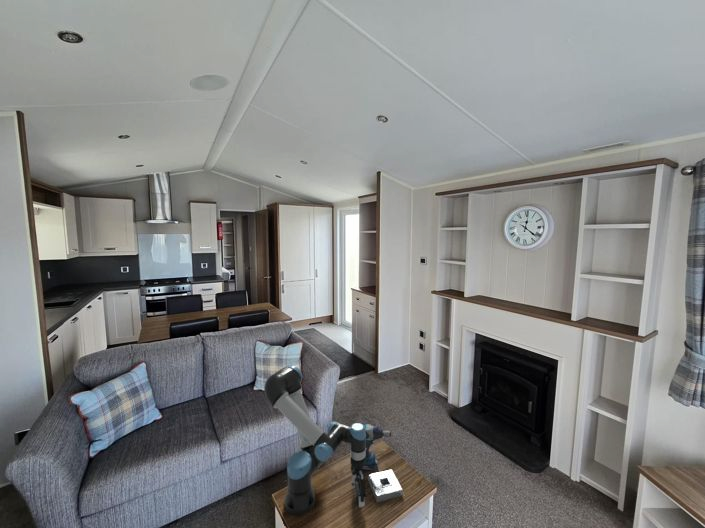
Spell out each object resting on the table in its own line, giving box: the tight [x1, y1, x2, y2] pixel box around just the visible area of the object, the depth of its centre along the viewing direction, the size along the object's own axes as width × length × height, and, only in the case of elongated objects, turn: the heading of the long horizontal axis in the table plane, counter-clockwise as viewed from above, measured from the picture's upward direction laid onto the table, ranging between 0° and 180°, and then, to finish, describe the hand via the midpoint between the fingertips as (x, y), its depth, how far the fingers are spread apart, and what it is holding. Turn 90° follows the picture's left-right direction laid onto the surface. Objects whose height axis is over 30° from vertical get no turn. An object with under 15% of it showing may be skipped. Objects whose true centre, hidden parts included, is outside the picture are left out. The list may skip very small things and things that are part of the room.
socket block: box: [367, 469, 403, 503], centre depth 166 cm, size 14×14×4 cm
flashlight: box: [351, 478, 360, 505], centre depth 157 cm, size 6×4×12 cm, turn 106°
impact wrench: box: [363, 423, 392, 472], centre depth 179 cm, size 8×22×25 cm, turn 78°
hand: (358, 495), depth 157 cm, fingers open, 11 cm apart
